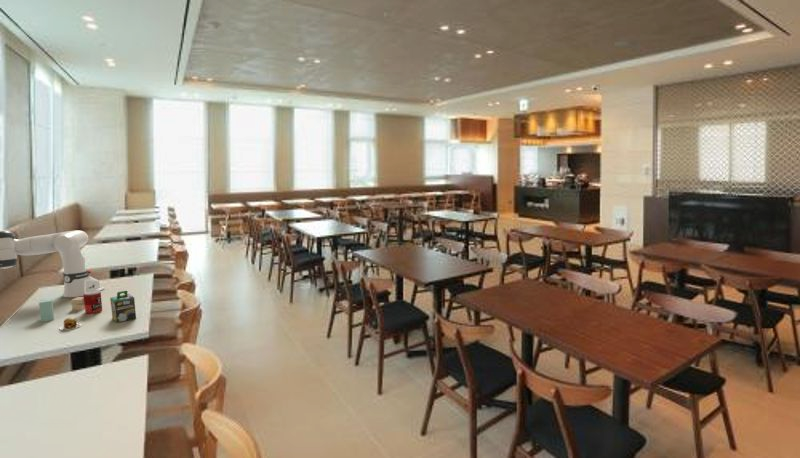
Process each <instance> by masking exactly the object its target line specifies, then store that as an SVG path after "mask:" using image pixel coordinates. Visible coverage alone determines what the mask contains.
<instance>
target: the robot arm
mask: <svg viewBox="0 0 800 458" xmlns="http://www.w3.org/2000/svg"><path fill="white" fill-rule="evenodd" d="M17 237H18V235H15V234H14V233H13V232H11V231H10V230H5V229H0V269H4V270H5V269H9V268H13V267H14V266H16V265H17V264H18V258H17V255H19V256H36V255H38V256H39V255H44V254H50V253H51V254H52V253H57V252H58V253H59V255H60V257H61V258H60V259H61V261H62V268H63V274H62V275H63V281H64V283H63V284H64V286H63V294H62V297H63V298H76V297H84V295H83V294H84V292H87V291H92V290H99V291H100V292H101V291H103V290H105V289H106V288H105V287H104V286H101V285H100V284H101V283H100V281H99V280H98V279H97V278H94V276H93V277H92V276H91V275H90V274H93V270H92V269H91V270H89V269H88V270H87V267H86V266H87V265H86V258H85V257H84V256H83V254H82V251H81V248H82V247H84V246H85V245H86V244H87V243H88V241H89V235H88V234H87V232H86V231H83V230H78V229H77V230H68V231H62V232H61V231H60V232H56V233H55V232H54V233H49V234H48V233H47V234H44V235H43V234H41V235H35V236H29V237H28V236H27V237H24V238H17ZM16 238H17V239H16Z"/></svg>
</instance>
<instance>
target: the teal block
mask: <svg viewBox="0 0 800 458" xmlns="http://www.w3.org/2000/svg"><path fill="white" fill-rule="evenodd" d="M38 306H39V315H40V322H41V323H44V322H50V321H54V319H55V313H54V312H55V311H54V305H53V298H47V299H41V300H39V302H38Z"/></svg>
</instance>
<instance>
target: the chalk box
mask: <svg viewBox="0 0 800 458" xmlns="http://www.w3.org/2000/svg"><path fill="white" fill-rule="evenodd" d="M122 294H123V295H122ZM109 301H110V307H111V315H112V316H111V317H112V319H113V320H114V321H115V322H116V323H121V322H126V321H130V320H136V319H137V315H136V314H137V313H136V311H137V310H136V304H135V303H136V301H135V297H134V296H133V295H131V294H130V293H128V291H127V290H124V291H123V290H122V291H118V292H116V296H112V297H110V299H109ZM135 318H136V319H135Z"/></svg>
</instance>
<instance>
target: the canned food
mask: <svg viewBox="0 0 800 458" xmlns="http://www.w3.org/2000/svg"><path fill="white" fill-rule="evenodd" d="M83 295H84V296H83V297H84V305H85V309H84V311H85V314H88V315H93V314H98V313H101V312H102V311H103V303H102V302H103V301H102V292H101V291H99V290H92V291H87V292H84V294H83Z"/></svg>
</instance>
